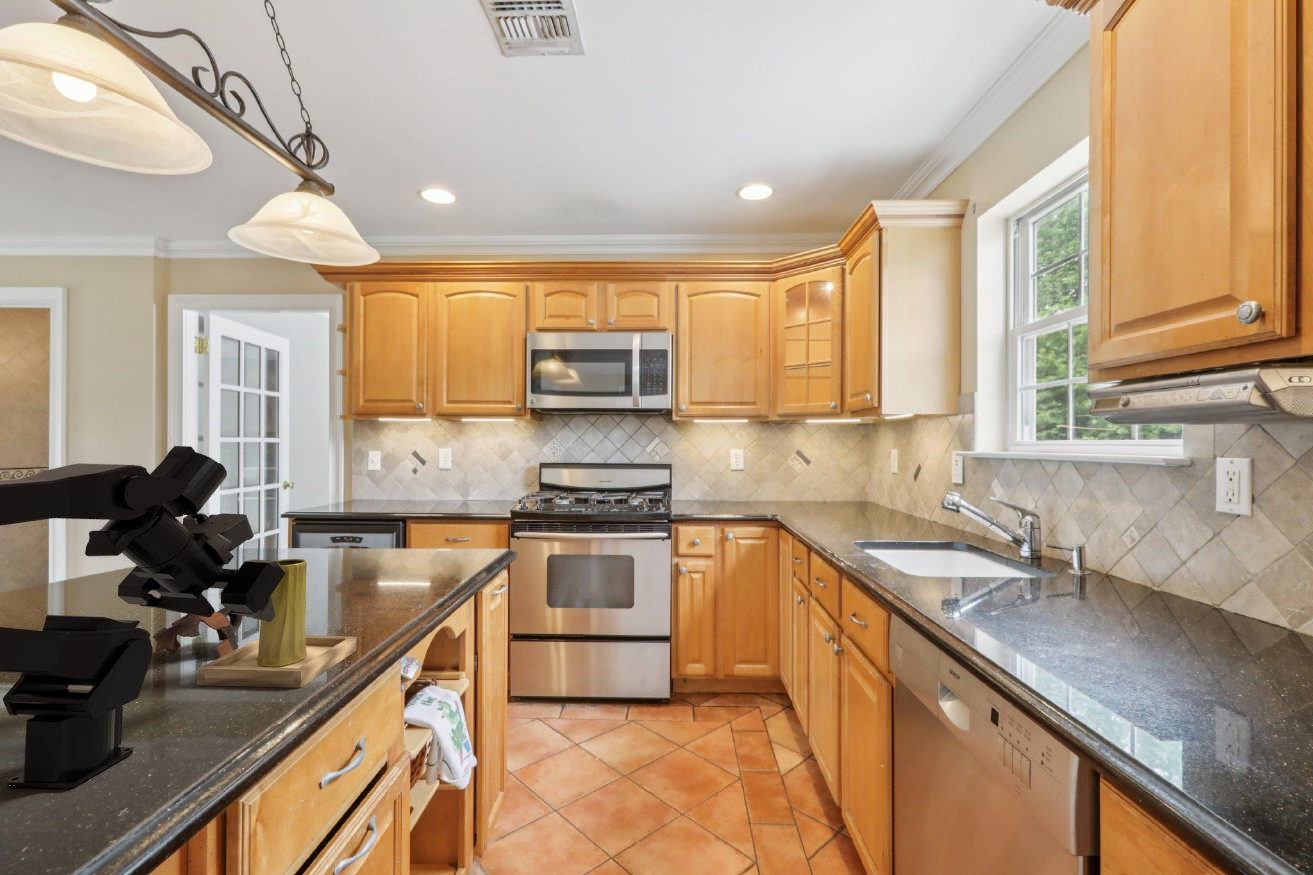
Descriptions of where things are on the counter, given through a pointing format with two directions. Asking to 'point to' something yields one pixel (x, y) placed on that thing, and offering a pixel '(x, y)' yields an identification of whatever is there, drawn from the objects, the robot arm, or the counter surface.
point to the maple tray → (246, 671)
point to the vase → (286, 619)
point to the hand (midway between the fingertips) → (241, 616)
